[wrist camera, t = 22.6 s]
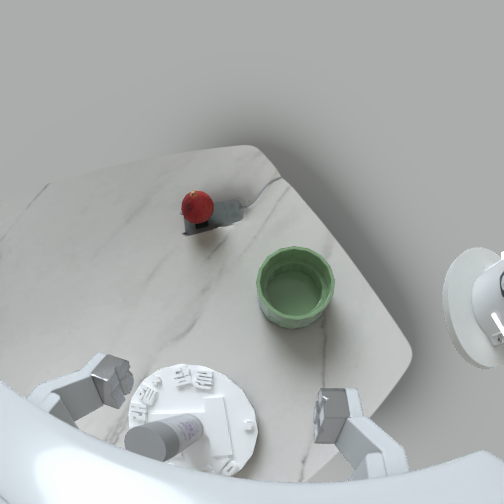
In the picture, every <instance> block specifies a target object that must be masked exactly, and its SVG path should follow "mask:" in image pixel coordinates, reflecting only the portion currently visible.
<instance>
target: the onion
mask: <svg viewBox="0 0 504 504" xmlns="http://www.w3.org/2000/svg"><path fill="white" fill-rule="evenodd" d="M181 210H182V213H183V215H184V217H185V219H186V220H188V221H189V222H191V223H195V224H199V223H203V222H205V221H207V220H208V219H209V218H210V217H211V215H212V213H213V211H214V205H213V201H212V199H211V198H210V196H209V195H208V194H206V193H204V192H202V191H195V190H194V191H191V192H190V193H188V194H187V195H186V196H185V198H184V199H183V201H182V208H181Z"/></svg>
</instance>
